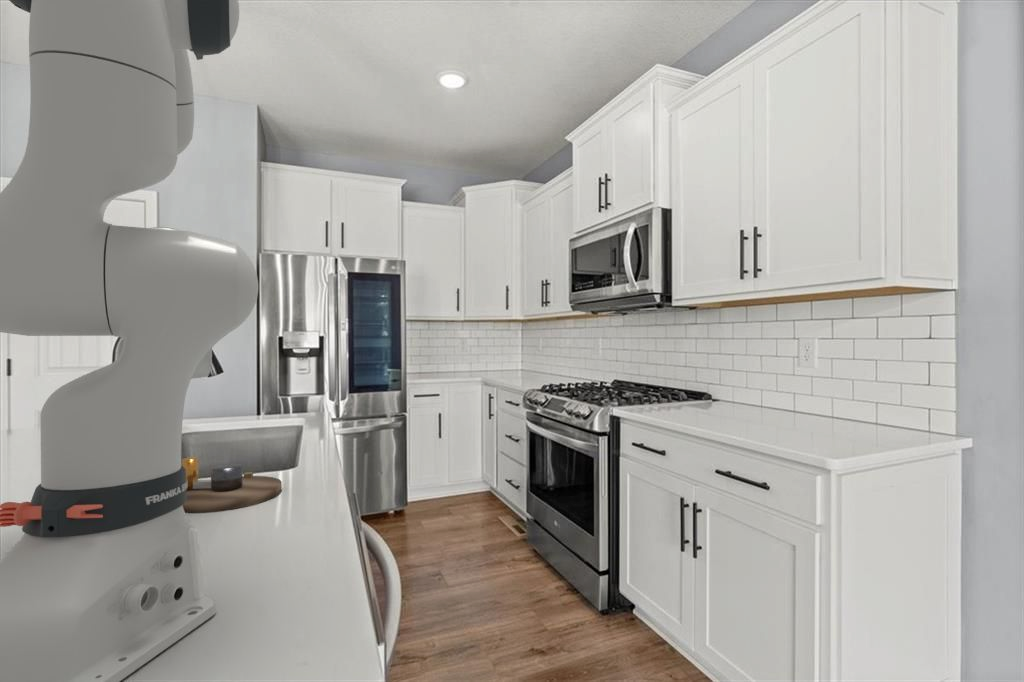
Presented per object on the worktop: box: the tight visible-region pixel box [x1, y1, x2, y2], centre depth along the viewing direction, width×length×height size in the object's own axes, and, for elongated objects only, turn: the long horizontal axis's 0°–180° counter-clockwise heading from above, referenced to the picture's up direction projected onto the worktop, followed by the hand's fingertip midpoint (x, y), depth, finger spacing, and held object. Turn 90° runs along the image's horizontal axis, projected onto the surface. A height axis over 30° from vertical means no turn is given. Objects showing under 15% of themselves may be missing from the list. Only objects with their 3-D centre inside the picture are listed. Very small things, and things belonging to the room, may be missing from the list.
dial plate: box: [183, 472, 283, 514], centre depth 94 cm, size 18×18×2 cm
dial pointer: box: [181, 456, 244, 491], centre depth 94 cm, size 10×5×5 cm, turn 92°
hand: (169, 408), depth 88 cm, fingers closed
